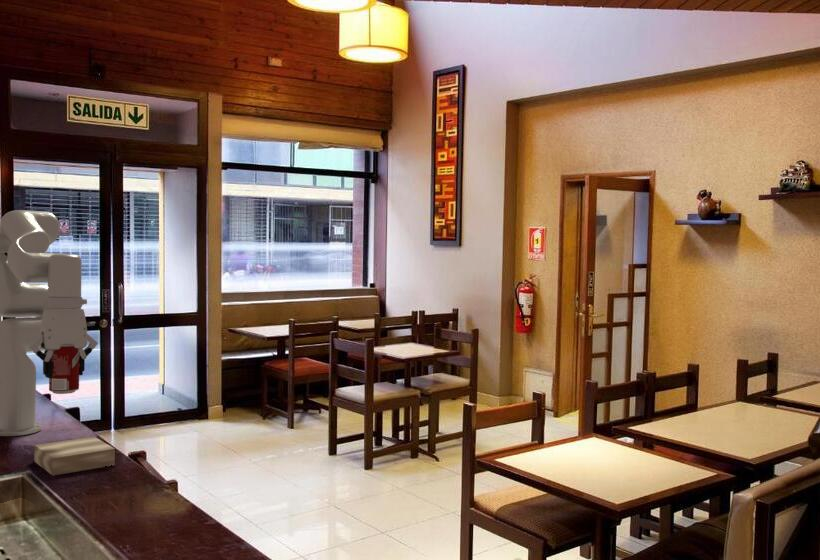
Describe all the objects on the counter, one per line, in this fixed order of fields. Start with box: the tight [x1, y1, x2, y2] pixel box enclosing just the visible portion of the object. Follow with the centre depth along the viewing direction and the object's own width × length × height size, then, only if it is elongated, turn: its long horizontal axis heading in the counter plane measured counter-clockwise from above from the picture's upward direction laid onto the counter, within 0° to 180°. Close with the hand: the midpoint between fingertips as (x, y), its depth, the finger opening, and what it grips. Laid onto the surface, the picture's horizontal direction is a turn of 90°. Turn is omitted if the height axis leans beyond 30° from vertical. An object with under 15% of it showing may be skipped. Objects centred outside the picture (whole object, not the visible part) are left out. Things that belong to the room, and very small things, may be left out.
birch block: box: [33, 436, 116, 476], centre depth 177 cm, size 14×14×4 cm
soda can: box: [48, 345, 80, 395], centre depth 183 cm, size 7×7×12 cm
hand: (63, 375), depth 183 cm, fingers closed on soda can, 6 cm apart
